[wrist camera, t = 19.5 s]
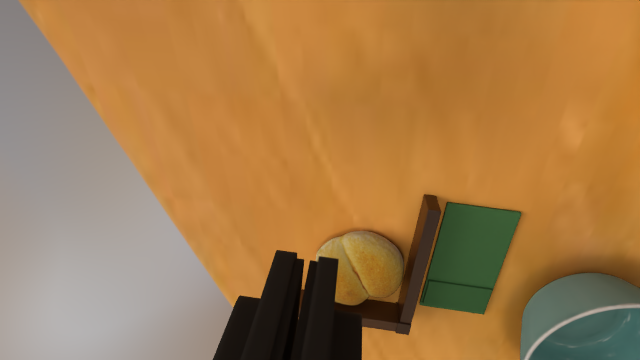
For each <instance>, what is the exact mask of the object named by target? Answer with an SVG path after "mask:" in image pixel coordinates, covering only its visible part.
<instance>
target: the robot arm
mask: <svg viewBox="0 0 640 360" xmlns="http://www.w3.org/2000/svg"><path fill="white" fill-rule="evenodd" d="M338 263H339V259H336V258H329V257H322V256H319V258H318V261H311V260H310V264H309V269H308V274H307V279H306V284H305V289H304V294H303V299H302V304H301V309H300V314H299V307H300V297H301V287H302V277H303V267H304V259H297V253H294V252H287V251H280V250H277V251H276V253H275V256H274V259H273V262H272V265H271V268H270V271H269V275H268V278H267V281H266V284H265V287H264V290H263V293H262V296H261V299H260V298H253V297H246V296H239V297H238V299H237V301H236V303H235V306H234V308H233V311H232V313H231V316H230V318H229V321H228V323H227V326H226V328H225V331H224V333H223V336H222V338H221V341H220V343H219V345H218V348H217V351H216V353H215V356H214V358H213V360H362V314H361V313H354V312H347V311H341V310H334V304H335V294H336V284H337V273H338ZM298 317H299V319H298Z"/></svg>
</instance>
